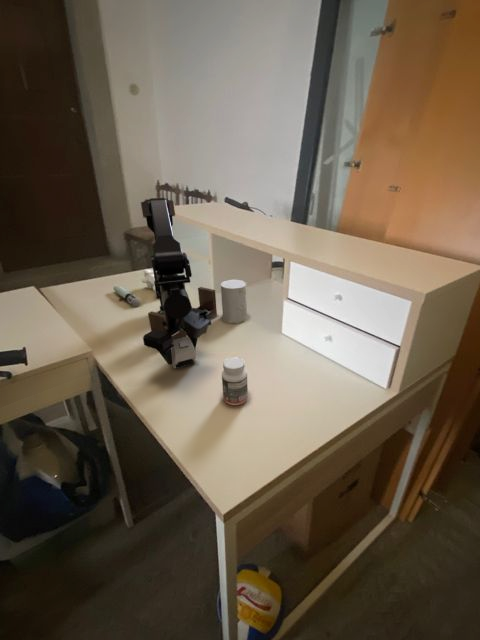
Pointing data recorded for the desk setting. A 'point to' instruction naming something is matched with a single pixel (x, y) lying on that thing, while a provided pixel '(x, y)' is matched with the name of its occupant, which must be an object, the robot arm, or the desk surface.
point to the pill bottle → (234, 381)
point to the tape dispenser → (183, 352)
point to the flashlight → (127, 296)
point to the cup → (234, 301)
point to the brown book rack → (206, 303)
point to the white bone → (149, 278)
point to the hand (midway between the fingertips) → (182, 356)
